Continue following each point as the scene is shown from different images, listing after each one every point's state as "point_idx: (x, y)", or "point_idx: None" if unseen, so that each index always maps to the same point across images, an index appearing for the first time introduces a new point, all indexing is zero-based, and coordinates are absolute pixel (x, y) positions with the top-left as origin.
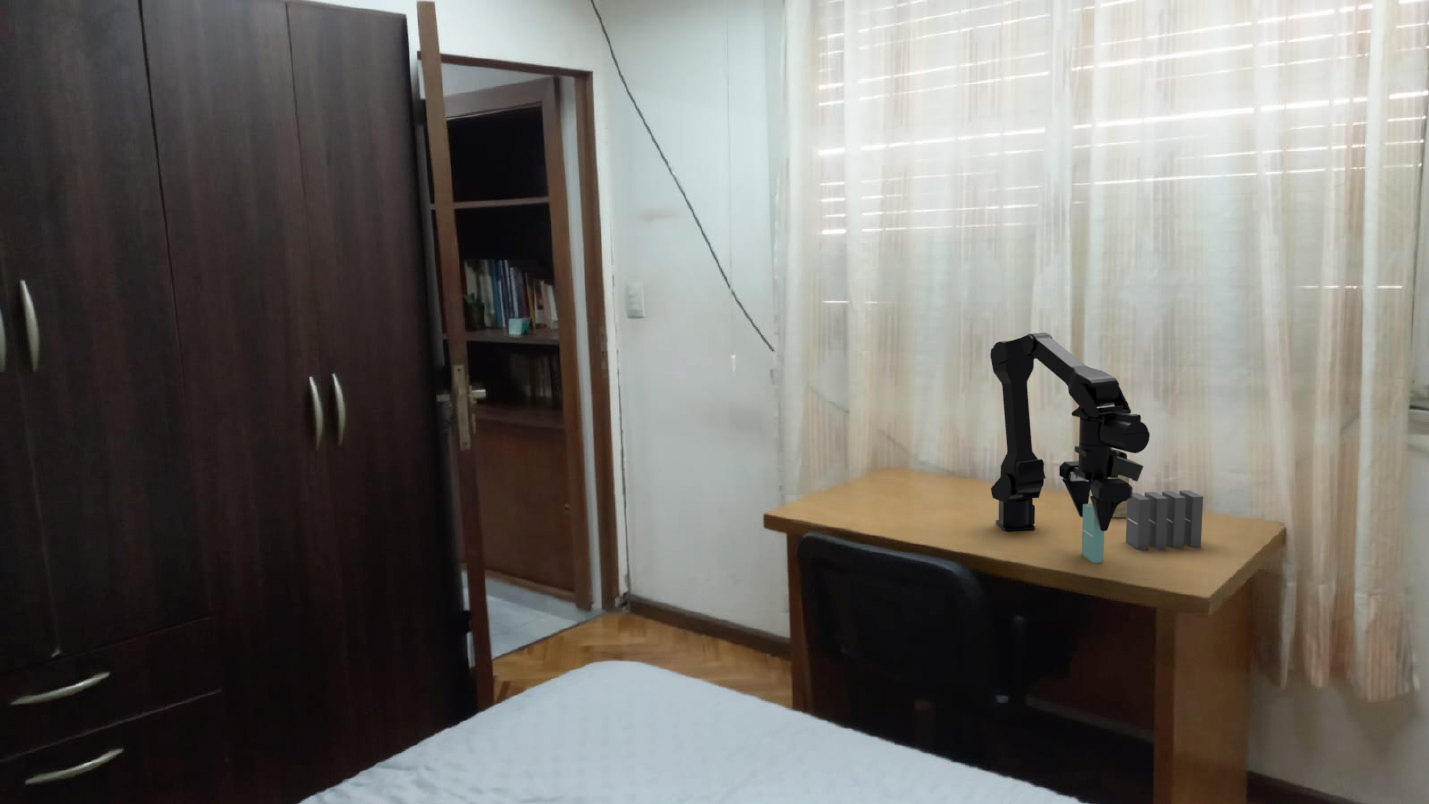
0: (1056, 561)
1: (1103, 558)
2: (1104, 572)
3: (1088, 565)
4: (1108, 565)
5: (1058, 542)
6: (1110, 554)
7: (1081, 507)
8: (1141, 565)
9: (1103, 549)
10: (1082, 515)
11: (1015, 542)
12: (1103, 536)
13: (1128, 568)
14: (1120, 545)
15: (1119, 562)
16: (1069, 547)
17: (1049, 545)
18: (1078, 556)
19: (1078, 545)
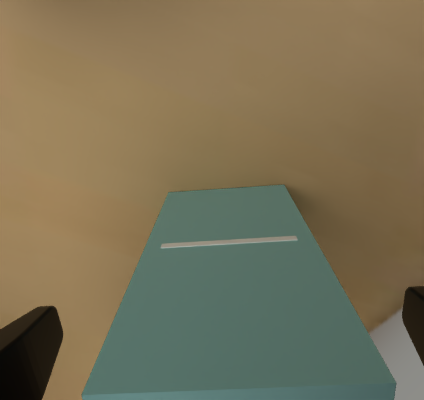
0: None
1: (286, 190)
2: (404, 223)
3: None
4: (326, 178)
5: (17, 269)
6: (179, 114)
7: (23, 393)
8: (357, 24)
9: (295, 207)
10: (57, 332)
11: None
12: (313, 241)
13: (382, 107)
14: (33, 6)
15: (296, 116)
16: (81, 249)
17: (60, 309)
18: None
19: (51, 207)
